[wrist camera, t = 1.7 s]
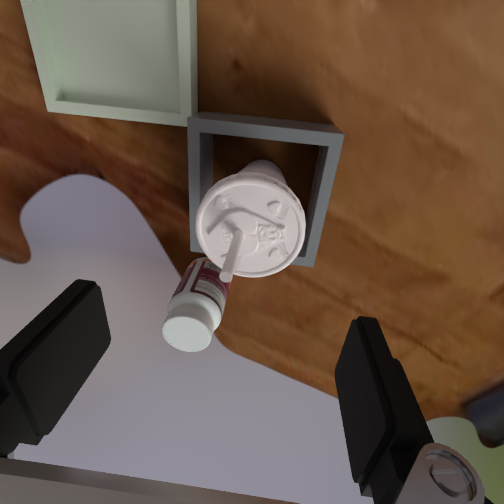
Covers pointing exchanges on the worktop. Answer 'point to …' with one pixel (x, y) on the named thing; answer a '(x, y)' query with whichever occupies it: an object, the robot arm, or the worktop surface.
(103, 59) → the tray
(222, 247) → the smoothie
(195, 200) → the grey square tube frame
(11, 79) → the worktop surface
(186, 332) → the pill bottle
